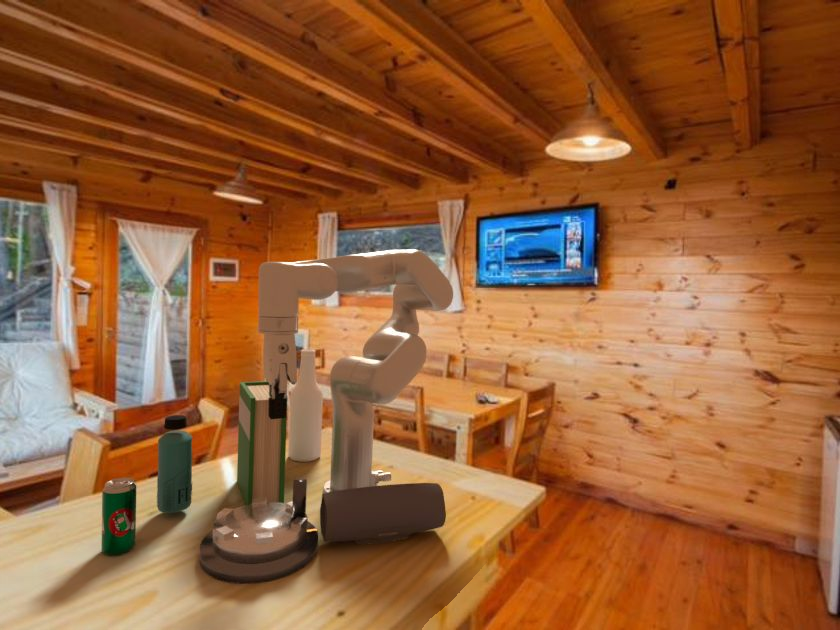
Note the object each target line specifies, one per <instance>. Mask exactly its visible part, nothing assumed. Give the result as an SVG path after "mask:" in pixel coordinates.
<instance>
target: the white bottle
mask: <svg viewBox="0 0 840 630" xmlns="http://www.w3.org/2000/svg"><path fill="white" fill-rule="evenodd" d="M300 352H301V354H300V365H299V374H298V379H297V382H296V384H295V385H294V386H293V388H292V389H291V392H290V396H289V398H290V400H289V424H288V425H289V426H288V427H289V428H288V451H287V452H288V457H289V458H290V460H292V461H294V462H297V463H298V462H299V463H309V462H313V461H316V460H318V459H319V457H320V456H321V453H322V434H323V433H322V431H323V429H322V428H323V403H324V401H323V400H324V394H323V389H322V387H321V386H320V385H319V384H318V382H317V374H316V373H317V372H316V370H317V369H316V352H317V351H316V349H312V348H304V349H301V350H300Z"/></svg>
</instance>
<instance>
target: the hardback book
mask: <svg viewBox="0 0 840 630" xmlns="http://www.w3.org/2000/svg"><path fill="white" fill-rule="evenodd" d="M238 398H239V400H238V401H239V402H238V404H239V405H238V431H237V432H238V435H237V436H238V437H237V464H236V465H237V468H236V471H237V473H236V482H237V486H238V488H239V490H240V495H241V497H242V501H243V503H244V505H249V504H252V499H254V498H264V497H266V498H267V502H278V503H285V483H286V482H285V479H286V478H285V477H286V475H285V474H286V445H287V441H286V440H287V420H288V417H287V416H286V418H280V419H270V417H269V416H268V414H269V382H268V381H267V380H263V381H262V380H261V381H242V382H241V381H240V382H239V395H238ZM286 398H287V399H288V396H287V397H286Z"/></svg>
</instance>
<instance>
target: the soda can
mask: <svg viewBox="0 0 840 630" xmlns="http://www.w3.org/2000/svg"><path fill="white" fill-rule="evenodd" d="M101 492H102V493H101V494H102V495H101V547H100V549H101V552H102V553H103V554H105V555H106V556H112V557H113V556H120V555H121V556H122V555H123V554H126V553H128V552H130V551H131V550H132V549H133V548H134V547H135V545H136V537H137V536H136V531H137V528H136V526H137V484H136V482H135V479H134V478H132V477H119V478H112V479H111V480H109V481H107V482H106V483H105V484H104V488H103V489H102V490H101Z"/></svg>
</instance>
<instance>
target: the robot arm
mask: <svg viewBox="0 0 840 630" xmlns="http://www.w3.org/2000/svg"><path fill="white" fill-rule="evenodd" d="M393 285H395V286H394V288H393V292H392V312H391V313H392V314H391V316H390V317H389V319H387V321H386V322H385V323H384V324H382V325H381V326H380V327H379V328H378V329H377V330H376V331H375V332H374V333H373V334H372V335H371V336H370V337H369V338H368V339H367V340H366V342H365V343H364V345H363V348H362V356H357V355H356V356H355V355H350V356H349V355H348V356H344V357H340V358H339V359H337V361H336V362H335V363H334V364H333V366H332V367H331V370H330V373H329V386H330V391H331V399H332V425H331V427H332V428H331V429H332V431H331V456H330V457H331V458H330V478H329V480H328V481H326V482H325V483H324V485H323V490H322V491H323V494H324V493H329V492H333V491H339V490H346V489H354V488H362V487H371V486H378V484H379V482H380V483H381V482H384V483H385V482H390V481H391V480H392V474H391V472H390V471H389V472H383V470H376V471H374V470H373V469H372V467H373V448H374V447H373V445H374V426H375V416H374V415H375V414H374V409H373V405H372V404H375V405H383V406H384V405H388V404H390V403H392V402H393V401H395V400H396V399H397V398H398V397H399V396H400V395H401V394H402V392H403V391H405V389H406V388H407V387H408V385H410V383H411V382H412V381H413V380H414V379H415V377H416V376H417V375H418V374H419V373H420V371H421V370H422V368H423V367H424V365H425V362H426V359H427V346H426V342H425V341H424V340H423V337H420V336H419V333H420V323H419V320H418V315H417V310H418V311H419V310H421V311H433V312H441V311H444V310H447V309H448V308H450V306H451V304H452V302H453V299H454V290H453V285H452V284H451V282H450V280H449V279H448V278H447V276H446V275H445V274H444V273H443V272H442V270H441V269H440V268H439V266H438V265H437V264H436V263H435V262H434V261H433V259H432V258H431V257H430V256H429V255H428V254H427V253H425V252H423V251H421V250H418V249H387V250H380V251H374V252H365V253H357V254H347V255H341V256H336V257H328V258H319V259H318V258H317V259H308V260H301V261H293V262H287V261H286V262H285V261H266V262H265V261H264V262H262V263H261V264H260V265H259V268H258V318H257V320H258V322H257V324H258V325H257V326H258V327H257V330H258V334H260V335H263V352H262V353H263V354H262V355H263V358H262V362H263V366H262V367H263V368H262V369H263V377H264V379H265V381H268V382H269V414H268V416H269V417H270V419H280V418H286V416H287V415H288V394H287V393H288V382H289V383H290V384H292V385H294V386H295V385H296V384H297V383H298V374H297V373H298V372H297V371H298V370H297V368H298V367H297V366H298V365H297V348H296V347H297V345H296V334H298V333H299V303H300V301H299V300H300V299H303V300H305V299H306V300H314V301H315V300H316V301H320V300H325V299H328V298H330V297H332V296H333V295H334V293H335V292H345V293H346V292H349V293H350V292H351V293H354V292H364V291H369V290H373V289H378V288H383V287H389V286H393ZM286 397H287V398H286Z"/></svg>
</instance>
